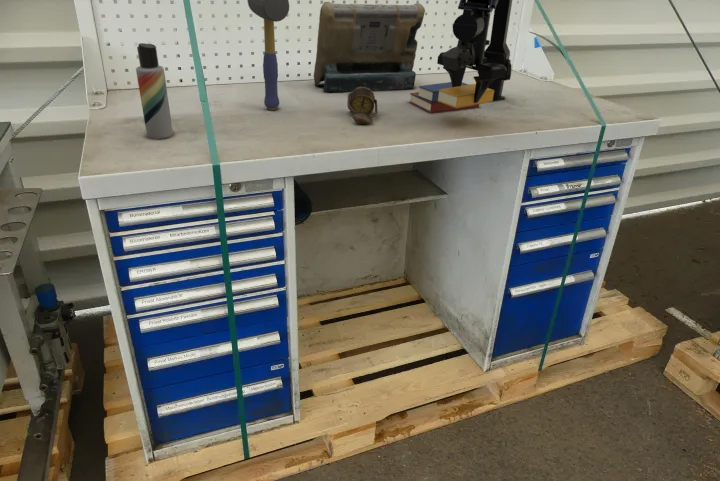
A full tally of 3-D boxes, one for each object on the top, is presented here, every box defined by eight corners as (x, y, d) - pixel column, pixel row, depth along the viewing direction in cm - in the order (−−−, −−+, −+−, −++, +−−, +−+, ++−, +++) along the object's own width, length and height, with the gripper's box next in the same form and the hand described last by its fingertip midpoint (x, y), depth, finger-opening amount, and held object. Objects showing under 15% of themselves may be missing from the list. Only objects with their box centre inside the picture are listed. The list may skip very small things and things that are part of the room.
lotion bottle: (150, 130, 123) (135, 40, 113) (175, 131, 123) (163, 41, 113) (144, 139, 118) (128, 46, 108) (170, 139, 119) (156, 47, 108)
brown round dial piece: (390, 93, 140) (356, 80, 142) (376, 101, 129) (339, 86, 131) (382, 119, 144) (349, 106, 145) (367, 128, 133) (332, 114, 134)
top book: (472, 94, 141) (474, 83, 140) (492, 101, 137) (494, 90, 135) (437, 101, 135) (438, 89, 133) (456, 108, 130) (458, 96, 128)
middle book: (457, 91, 156) (458, 80, 155) (472, 96, 152) (473, 86, 150) (417, 96, 149) (418, 86, 147) (432, 102, 144) (433, 91, 143)
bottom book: (455, 97, 161) (457, 88, 159) (478, 107, 153) (480, 97, 151) (409, 102, 154) (410, 92, 152) (430, 113, 145) (431, 103, 144)
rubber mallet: (293, 114, 139) (291, -11, 123) (266, 117, 135) (261, -11, 120) (276, 101, 148) (273, -17, 133) (251, 104, 145) (244, -17, 129)
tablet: (401, 78, 178) (408, -3, 165) (421, 89, 167) (431, 3, 155) (310, 84, 166) (310, -3, 153) (326, 95, 155) (327, 4, 143)
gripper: (424, 30, 130) (418, 93, 138) (480, 44, 117) (469, 113, 125) (457, 28, 135) (449, 88, 143) (513, 41, 123) (501, 107, 131)
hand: (465, 99), depth 135 cm, fingers closed on top book, 7 cm apart
